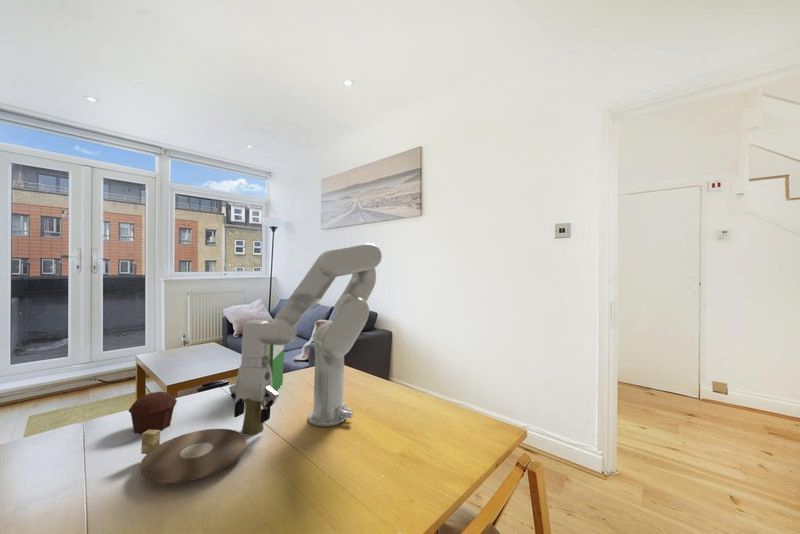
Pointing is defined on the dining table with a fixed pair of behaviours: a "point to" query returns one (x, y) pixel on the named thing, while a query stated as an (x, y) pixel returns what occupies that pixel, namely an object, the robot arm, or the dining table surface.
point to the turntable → (189, 454)
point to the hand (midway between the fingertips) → (251, 418)
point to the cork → (252, 418)
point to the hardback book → (276, 365)
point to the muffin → (152, 412)
